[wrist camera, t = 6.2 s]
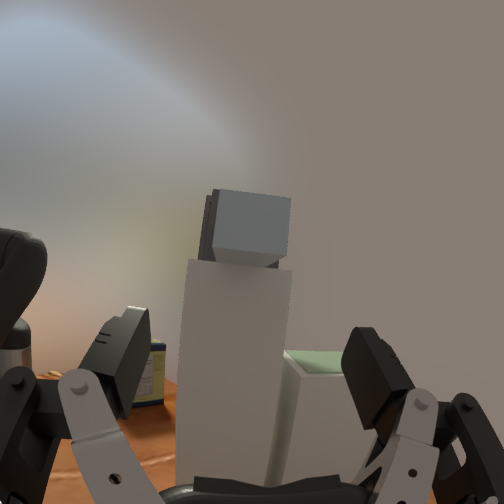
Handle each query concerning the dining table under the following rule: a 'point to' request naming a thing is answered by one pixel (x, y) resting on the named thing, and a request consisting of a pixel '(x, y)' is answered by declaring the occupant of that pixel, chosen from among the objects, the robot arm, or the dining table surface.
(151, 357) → the protein box
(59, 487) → the dining table surface
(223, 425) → the grey stepped fixture
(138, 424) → the dining table surface
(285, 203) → the plug
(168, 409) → the dining table surface
